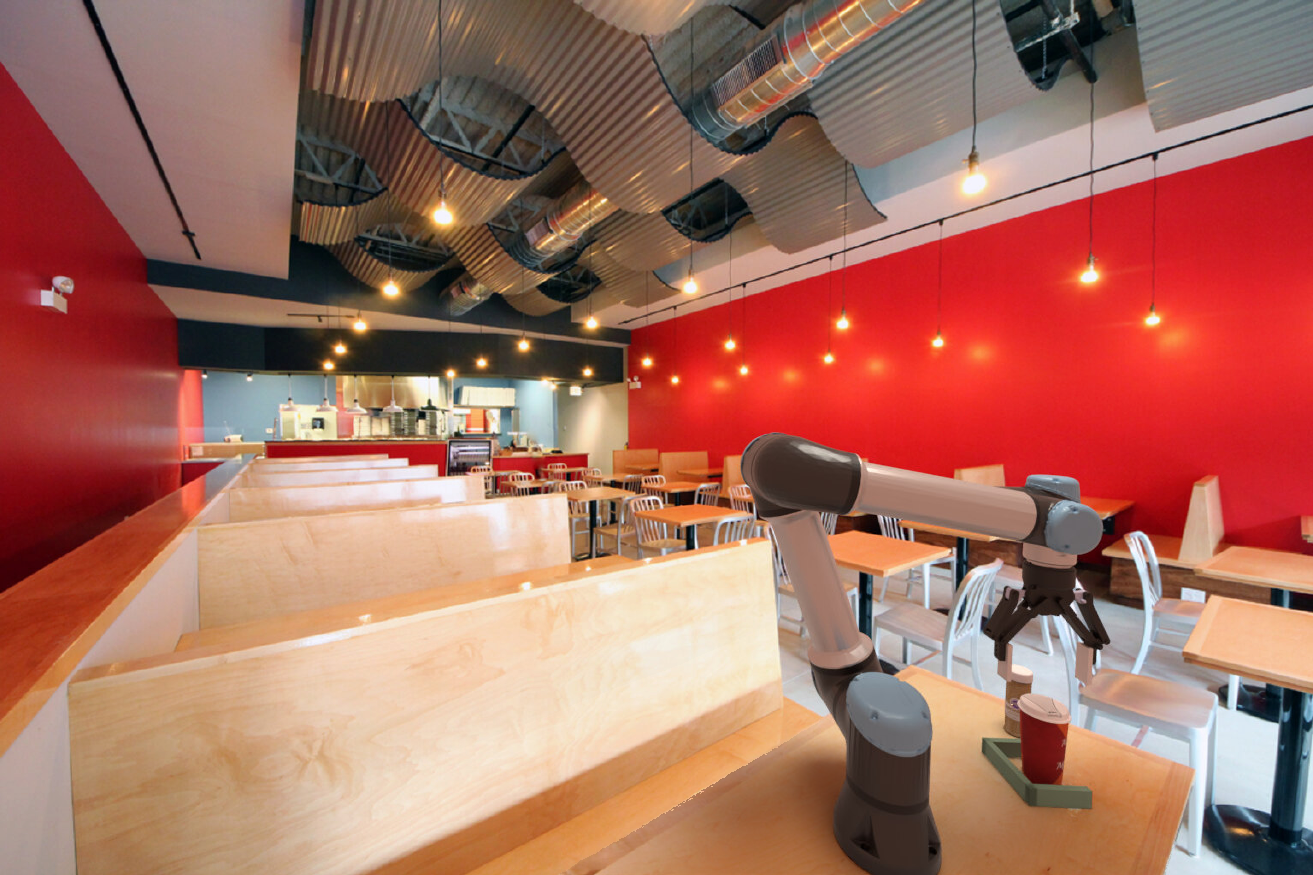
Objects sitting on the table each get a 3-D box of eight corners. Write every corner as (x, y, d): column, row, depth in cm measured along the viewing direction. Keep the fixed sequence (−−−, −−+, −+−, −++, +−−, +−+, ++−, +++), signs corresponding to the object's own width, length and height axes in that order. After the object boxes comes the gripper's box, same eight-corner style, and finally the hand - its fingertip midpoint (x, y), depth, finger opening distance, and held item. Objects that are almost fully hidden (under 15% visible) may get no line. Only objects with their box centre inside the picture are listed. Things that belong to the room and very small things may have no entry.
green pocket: (1029, 805, 83) (1030, 788, 83) (981, 752, 97) (982, 737, 97) (1091, 808, 83) (1092, 791, 83) (1035, 754, 96) (1035, 739, 96)
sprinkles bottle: (1004, 734, 102) (1007, 670, 102) (1002, 722, 106) (1004, 661, 106) (1032, 741, 100) (1034, 676, 99) (1029, 729, 104) (1031, 666, 103)
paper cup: (1079, 798, 85) (1082, 718, 85) (1028, 791, 87) (1031, 713, 86) (1052, 766, 93) (1055, 693, 92) (1006, 761, 94) (1008, 689, 94)
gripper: (989, 566, 85) (984, 687, 86) (1142, 571, 84) (1135, 694, 85) (964, 554, 93) (960, 665, 93) (1104, 558, 91) (1098, 671, 92)
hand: (1043, 679), depth 89 cm, fingers open, 13 cm apart
